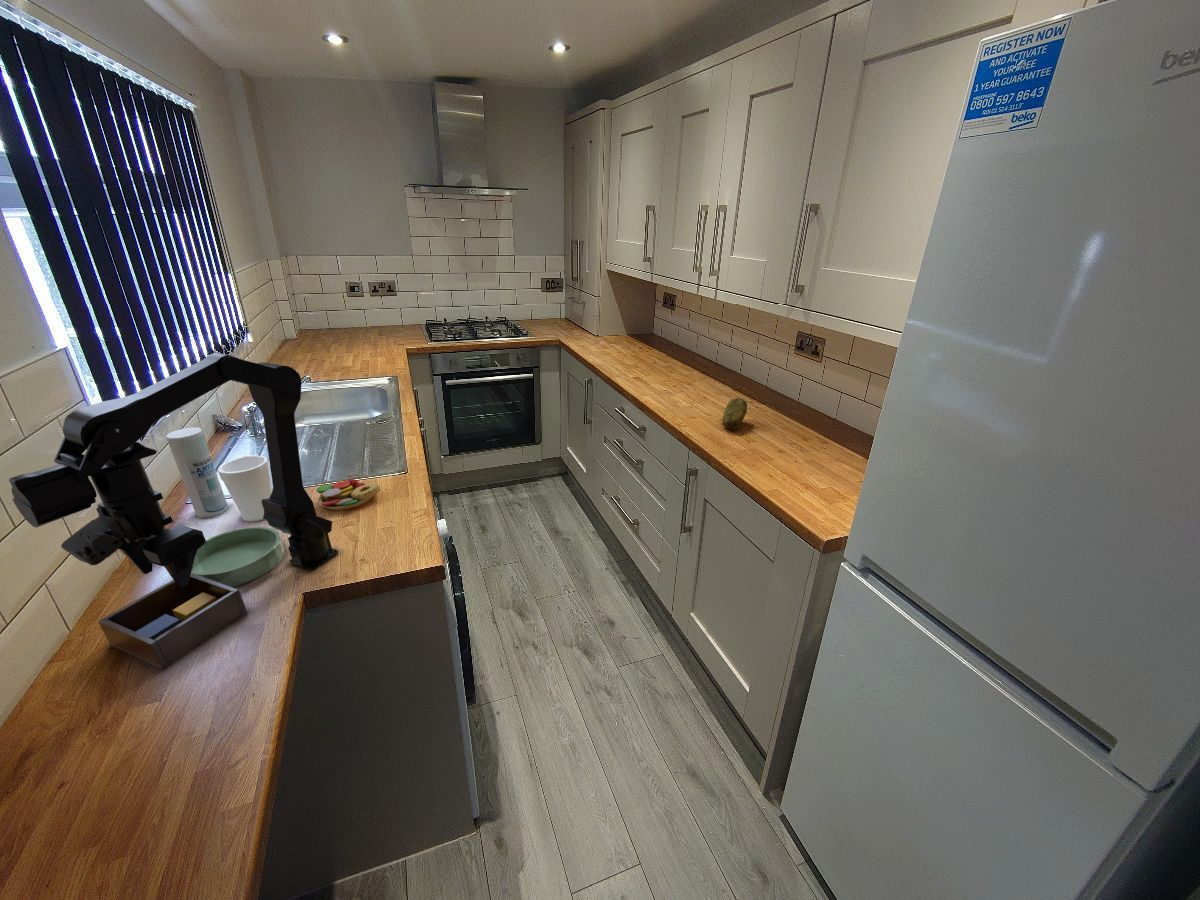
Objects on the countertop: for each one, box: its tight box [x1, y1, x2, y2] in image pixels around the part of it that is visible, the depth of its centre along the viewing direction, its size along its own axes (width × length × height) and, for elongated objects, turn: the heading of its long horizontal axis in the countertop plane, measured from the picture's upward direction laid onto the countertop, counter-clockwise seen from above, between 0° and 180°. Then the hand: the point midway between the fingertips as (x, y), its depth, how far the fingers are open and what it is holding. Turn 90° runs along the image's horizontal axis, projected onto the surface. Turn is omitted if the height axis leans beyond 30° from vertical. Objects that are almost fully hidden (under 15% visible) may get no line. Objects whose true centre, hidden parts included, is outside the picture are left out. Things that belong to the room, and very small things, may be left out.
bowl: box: [191, 526, 285, 588], centre depth 104 cm, size 16×16×4 cm
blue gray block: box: [136, 614, 181, 640], centre depth 85 cm, size 5×4×2 cm
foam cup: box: [217, 454, 273, 522], centre depth 119 cm, size 10×9×13 cm
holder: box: [97, 573, 248, 671], centre depth 87 cm, size 14×14×5 cm
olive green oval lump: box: [721, 397, 748, 431], centre depth 168 cm, size 8×13×8 cm, turn 139°
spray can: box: [165, 427, 228, 519], centre depth 120 cm, size 6×6×20 cm
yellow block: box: [173, 592, 217, 622], centre depth 90 cm, size 5×4×2 cm
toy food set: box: [316, 478, 381, 511], centre depth 127 cm, size 13×13×3 cm
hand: (165, 579), depth 82 cm, fingers open, 9 cm apart
